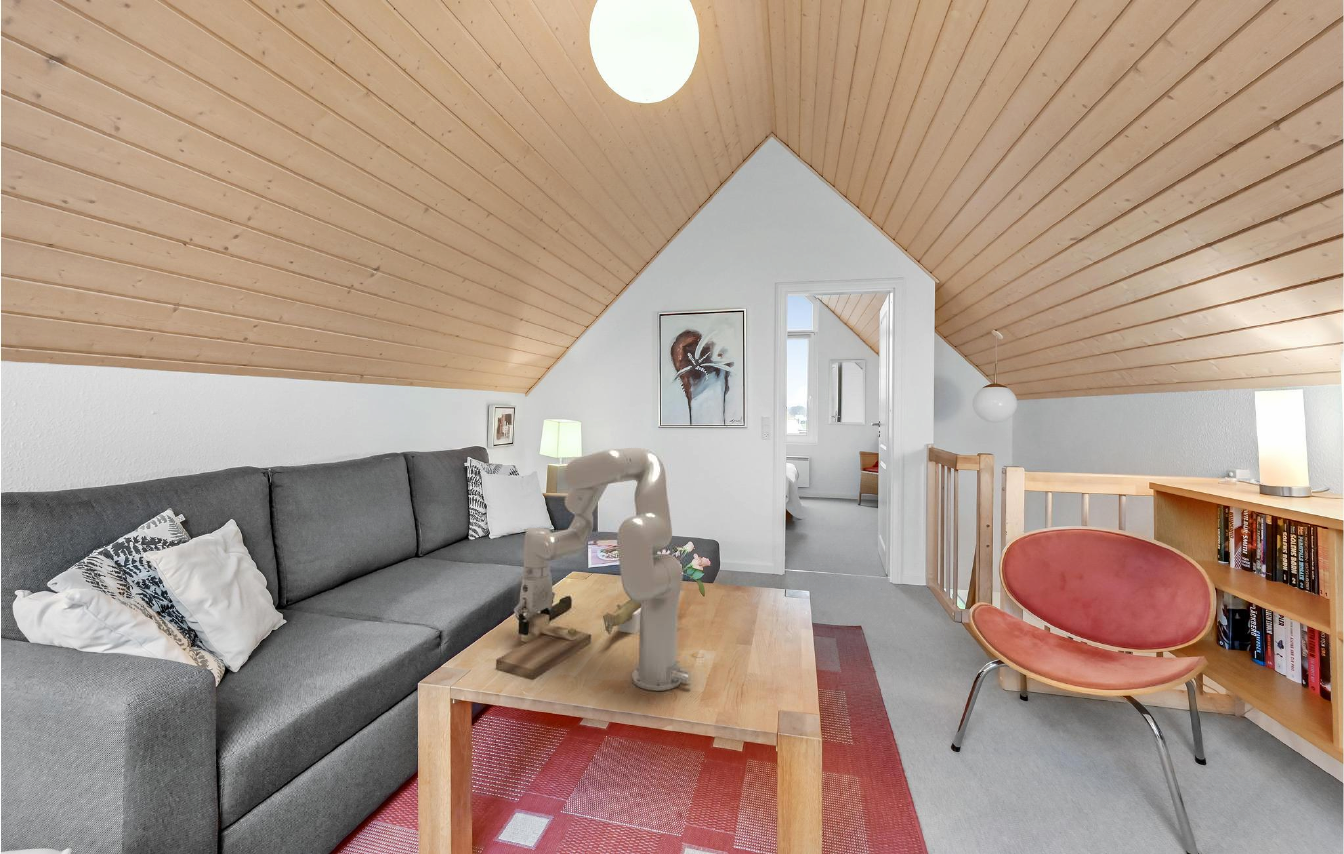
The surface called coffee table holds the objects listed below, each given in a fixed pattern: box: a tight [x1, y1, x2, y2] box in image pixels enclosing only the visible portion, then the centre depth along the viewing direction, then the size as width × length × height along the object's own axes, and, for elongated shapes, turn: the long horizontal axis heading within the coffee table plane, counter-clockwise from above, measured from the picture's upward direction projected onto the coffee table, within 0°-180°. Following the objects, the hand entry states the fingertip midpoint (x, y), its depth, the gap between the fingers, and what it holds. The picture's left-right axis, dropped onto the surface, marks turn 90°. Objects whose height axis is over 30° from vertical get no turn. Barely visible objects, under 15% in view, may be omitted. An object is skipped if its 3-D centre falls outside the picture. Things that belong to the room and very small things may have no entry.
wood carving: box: [602, 598, 642, 635], centre depth 170 cm, size 9×35×11 cm, turn 161°
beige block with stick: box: [520, 612, 577, 643], centre depth 159 cm, size 17×5×7 cm, turn 65°
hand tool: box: [549, 595, 573, 620], centre depth 181 cm, size 19×4×5 cm, turn 155°
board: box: [495, 626, 592, 680], centre depth 151 cm, size 12×26×3 cm, turn 155°
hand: (534, 628), depth 162 cm, fingers open, 9 cm apart
